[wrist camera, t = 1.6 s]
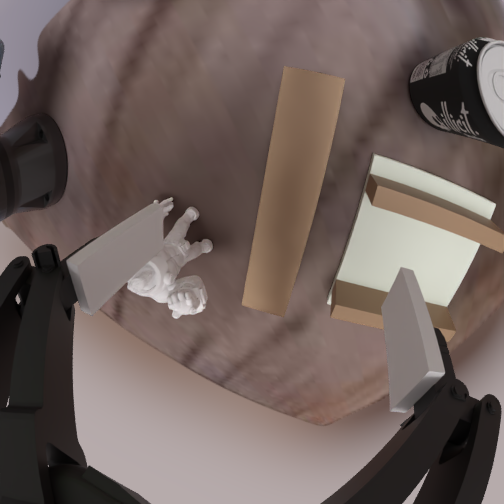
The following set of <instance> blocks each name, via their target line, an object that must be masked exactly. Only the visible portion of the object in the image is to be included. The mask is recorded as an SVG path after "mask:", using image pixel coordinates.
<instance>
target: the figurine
mask: <svg viewBox="0 0 504 504" xmlns="http://www.w3.org/2000/svg"><path fill="white" fill-rule="evenodd" d="M171 201H173V198H172V197H171V198H169V199H166V200H163V201H162V202H161V203H160V204H159V201H158V200H154V202H153V204H157V205H161V206H163V219H164V218H165V216H168V215H169V213H168V211H171V209H172V208H173V207H174V206H173V202H171ZM169 202H170V203H169ZM198 217H199V212H198V210H197V209H196V208H195V207H189V208H188V209H187V210H186V211H185V213H184V215H183V216H182V217H181V218H179V219H178V220H177V221H176V223H175V224H174V227H173V228H172V230H171V231H170V232H169V234H168V235H167V236H166V238H165V239H164V248H163V249H162V250H161V251H160V252H159V253H158V254H157V255H156V256H154V257H153V258H152V259H151V260H150V261H149V262H148V263H147V264H146V265H145V266H144V267H142V268H141V269H140V270H139V271H138V272H137V273H136V274H135V275H134V276H133V277H132V278H131V279H130V280H129V281H127V282H128V286H127V287H128V289H129V290H131V291H132V292H135V293H136V294H138V295H140V296H146V297H151V298H153V299H154V300H155V301H157V302H159V303H166V302H168V307H169V309H172V310H173V313H172V316H173V317H174V318H175V319H177V318H179V317H180V316H181V315H182V314H185V315H187V314H192V315H194V314H196V313H199V312H202V311H203V309H205V307H206V301H207V299H208V297H207V294H206V290H205V286H204V283H203V281H202V279H201V278H200V277H199V276H197V275H193V276H187V277H182V278H179V279H176V280H175V278H176V277H177V276H178V273H179V272H180V270H181V267H183V266H184V265H185V264H186V263H187V262H188V261H190V260H192V259H195V258H197V257H198V256H199V255H201V254H202V253H205V252H206V253H208V252H210V251H211V250H212V249H213V244H212V242H211V241H210V240H209V239H203V240H202V242H198V241H196V242H195V243H194V244H192V245H190V243H189V242H188V241H187V240H184V237H185V236H186V232H187V231H188V228H189V227H190V223H191V222H192V221H193V220H194V221H195V220H197V218H198Z"/></svg>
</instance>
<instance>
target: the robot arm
mask: <svg viewBox="0 0 504 504" xmlns="http://www.w3.org/2000/svg"><path fill="white" fill-rule="evenodd" d="M3 54H4V44H3V42H2V40H0V69H1V64H2V59H3ZM66 177H67V160H66V152H65V147H64V142H63V139H62V136H61V133H60V131H59V129H58V127H57V125H56V123H55V122H54V121H53V119H52V118H51V117H49V116H48V115H46V114H37V115H33V116H29V117H27V118H25V119H23V120H22V121H20V122H19V123H17V124H16V125H14V126H13V127H12V128H10V129H9V130H8V131H6V132H5V133H4V134H2V135H1V136H0V221H2V220H4V219H5V218H7V217H9V216H10V215H12V214H15V213H21V212H28V211H35V210H42V209H45V208H47V207H49V206H51V205H53V204H55V203H56V202H58V201H59V199H60V198H61V196H62V194H63V192H64V189H65V184H66ZM163 248H164V240H163V206H161V205H157V204H150V205H149V206H147V207H145V208H144V209H142V210H140V211H139V212H137V213H135V214H134V215H132V216H131V217H129V218H127V219H126V220H124V221H123V222H121V223H120V224H118V225H117V226H115V227H113V228H112V229H110V230H109V231H107V232H106V233H104V234H103V235H101V236H99V237H97V238H94V239H92V240H90V241H89V242H87V243H86V244H85V245H83V246H82V247H80V248H79V249H77V250H76V251H74V252H73V253H72V254H70V255H69V256H68V257H66V258H65V259H63V260H62V261H61V262H60V259H59V255H58V251H57V247H56V246H55V245H52V244H46V245H42V246H40V247H38V248H37V249H35V250H34V251H33V253H32V257H33V260H34V263H35V267H34V266H31V263H30V260H29V258H28V257H26V256H20V257H17V258H15V259H14V260H12V262H10V264H9V265H8V266H7V267H6V269H5V270H4V272H3V273H2V274H1V276H0V504H150V503H149V502H148V501H147V500H145V499H144V498H143V497H142V496H140V495H139V494H138V493H136V492H134V491H132V490H130V489H128V488H127V487H125V486H123V485H121V484H119V483H118V482H116V481H115V480H113V479H111V478H109V477H107V476H106V475H104V474H102V473H101V472H99V471H97V470H96V469H94V468H93V467H91V466H88V468H87V463H86V459H85V455H84V452H83V450H82V448H81V446H80V444H79V442H78V438H77V431H76V423H75V412H74V399H73V375H72V374H73V372H72V370H73V368H72V366H73V365H72V360H73V357H72V355H73V331H74V316H75V308H74V305H73V304H74V303H76V302H77V301H78V303H79V305H80V308H81V310H82V311H83V312H85V313H87V314H89V315H91V316H93V315H94V314H95V313H96V312H97V311H98V310H99V309H100V308H101V307H102V306H103V305H104V304H105V303H106V302H107V301H108V300H109V299H110V298H111V297H112V296H113V295H114V294H115V293H116V292H117V291H118V290H119V289H120V288H121V287H122V286H123V285H124V284H125V283H126V282H127V281H129V280H130V279H131V278H132V277H133V276H134V275H135V274H136V273H137V272H138V271H139V270H140V269H141V268H142V267H144V266H145V265H146V264H147V263H148V262H149V261H150V260H151V259H152V258H153V257H154V256H156V255H157V254H158V253H159V252H160V251H161V250H162V249H163ZM17 294H18V296H19V298H20V303H19V304H17V302H16V299H15V298H16V296H17ZM381 310H382V317H383V325H384V333H385V341H386V351H387V362H388V375H389V393H390V411H393V412H404V413H405V412H407V411H408V410H409V409H410V408H411V407H412V406H413V405H414V414H413V415H412V416H411V417H409V418H408V419H407V420H406V421H404V422H403V423H402V424H401V425H400V426H401V428H400V430H399V431H398V432H397V433H396V434H395V436H394V437H393V438H392V439H391V440H390V441H389V442H388V443H387V444H386V445H385V446H384V447H383V449H382V450H381V451H380V452H379V453H378V454H377V455H376V456H375V457H374V458H373V459H372V460H371V461H370V462H369V463H368V464H367V465H366V466H365V467H364V468H363V469H361V470H360V471H359V472H358V473H357V474H356V475H355V476H354V477H353V478H352V479H351V480H349V481H348V482H347V483H346V484H345V485H344V486H342V487H341V488H340V489H339V490H338V491H336V492H335V493H334V494H333V495H332V496H330V497H329V498H327V499H326V500H325V501H324V502H322V503H321V504H402V503H403V502H404V501H405V500H406V498H407V497H408V496H409V495H410V494H411V492H412V491H413V490H414V488H415V487H416V486H417V485H418V484H419V482H420V481H421V480H422V478H423V477H424V475H425V474H426V473H427V471H428V469H429V472H428V474H427V476H426V478H425V481H424V483H423V485H422V487H421V489H420V491H419V493H418V495H417V497H416V499H415V501H414V503H413V504H481V503H482V500H483V497H484V494H485V491H486V488H487V484H488V481H489V477H490V474H491V470H492V466H493V462H494V457H495V452H496V446H497V441H498V435H499V428H500V421H501V405H500V402H499V400H498V399H497V398H496V397H495V396H494V395H491V394H487V395H485V397H483V398H482V399H481V400H480V401H479V400H477V399H475V398H472V397H470V396H469V392H468V389H467V387H466V386H465V385H464V383H463V382H461V381H460V380H458V379H456V377H455V373H454V370H453V365H452V361H451V358H450V355H449V350H448V348H447V344H446V340H445V337H444V336H443V334H442V333H441V331H440V330H439V328H435V327H433V325H432V321H431V318H430V315H429V312H428V309H427V306H426V303H425V300H424V298H423V295H422V292H421V289H420V287H419V284H418V281H417V279H416V276H415V274H414V271H413V270H410V269H407V268H403V267H401V268H400V270H399V272H398V274H397V276H396V279H395V281H394V283H393V285H392V287H391V289H390V291H389V293H388V295H387V297H386V299H385V301H384V303H383V305H382V307H381ZM8 398H9V405H8V407H6V406H7V402H8ZM48 465H49V467H48Z"/></svg>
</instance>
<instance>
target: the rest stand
mask: <svg viewBox="0 0 504 504" xmlns="http://www.w3.org/2000/svg"><path fill="white" fill-rule="evenodd" d="M495 206H496V204H495V203H493V202H492V201H490V200H488V199H486V198H484V197H482V196H480V195H478V194H476V193H474V192H472V191H470V190H468V189H466V188H464V187H462V186H459V185H457V184H455V183H453V182H450V181H448V180H446V179H443V178H441V177H439V176H436V175H434V174H431V173H429V172H426V171H424V170H421V169H419V168H416V167H413V166H411V165H408V164H405V163H402V162H399V161H396V160H393V159H390V158H387V157H384V156H381V155H378V154H375V153H373V154H372V158H371V162H370V166H369V170H368V174H367V178H366V182H365V185H364V189H363V192H362V196H361V199H360V203H359V206H358V210H357V213H356V216H355V220H354V223H353V226H352V229H351V232H350V235H349V238H348V242H347V245H346V248H345V250H344V253H343V256H342V259H341V262H340V265H339V268H338V271H337V273H336V276H335V279H334V282H333V284H332V287H331V290H330V292H329V295H328V297H327V304H330V305H331V314H330V317H331V318H335V319H340V320H344V321H348V322H352V323H357V324H361V325H366V326H370V327H375V328H379V329H384V325H383V317H382V310H381V307H382V305H383V303H384V301H385V299H386V297H387V295H388V293H389V291H390V289H391V287H392V285H393V283H394V281H395V279H396V276H397V274H398V272H399V270H400V268H401V267H403V268H407V269H410V270H413V271H414V274H415V276H416V279H417V281H418V284H419V287H420V289H421V292H422V295H423V298H424V300H425V303H426V306H427V309H428V312H429V315H430V318H431V321H432V325H433V327H435V328H439V330H440V331H441V333H442V334H443V336H444V337H445V340H446V342H449V341H450V339H451V338H452V337H453V335H454V334H455V332H456V329H455V326H454V324H453V321H452V319H451V316H450V314H449V311H448V309H447V306H448V304H449V302H450V301H451V299H452V297H453V296H454V294H455V292H456V291H457V289H458V287H459V285H460V283H461V282H462V280H463V278H464V276H465V274H466V272H467V270H468V268H469V266H470V264H471V262H472V260H473V258H474V256H475V254H476V252H477V250H478V248H479V245H480V244H482V245H484V246H487V247H489V248H491V249H494V250H496V251H498V252H500V253H503V251H504V232H503V231H502V230H501V229H500V228H499V227H498V226H496V225H495V224H494V223H493V222H492V221H491V220H490V219H491V217H492V214H493V211H494V208H495Z"/></svg>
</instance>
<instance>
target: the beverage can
mask: <svg viewBox="0 0 504 504" xmlns="http://www.w3.org/2000/svg"><path fill="white" fill-rule="evenodd" d="M410 94H411V98H412V101H413V104H414V106H415V108H416V110H417V112H418V113H419V114H420V116H421V117H422V118H423V119H424V120H425V121H426V122H427V123H428V124H429V125H431V126H432V127H434V128H436V129H438V130H441V131H445V132H449V133H453V134H457V135H461V136H465V137H469V138H473V139H476V140H480V141H483V142H486V143H489V144H492V145H496V146H499V147H502V148H504V41H496V40H494V39H490V38H484V37H482V38H476V39H473V40H471V41H468V42H466V43H463V44H461V45H458V46H456V47H454V48H452V49H449V50H447V51H445V52H443V53H440V54H438V55H436V56H434V57H432V58H430V59H428V60H426V61H423V62H422V63H420V64H419V65H418V66H417V67H416V68H415V69H414V71H413V73H412V75H411V79H410Z"/></svg>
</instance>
